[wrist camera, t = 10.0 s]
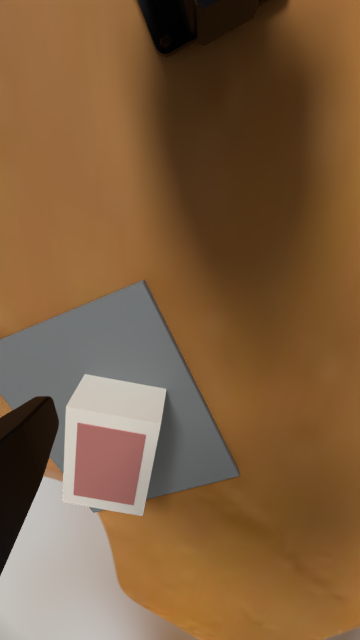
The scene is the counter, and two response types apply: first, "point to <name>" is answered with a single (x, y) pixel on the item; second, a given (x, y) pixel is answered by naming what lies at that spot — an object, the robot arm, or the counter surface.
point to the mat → (125, 365)
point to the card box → (111, 443)
